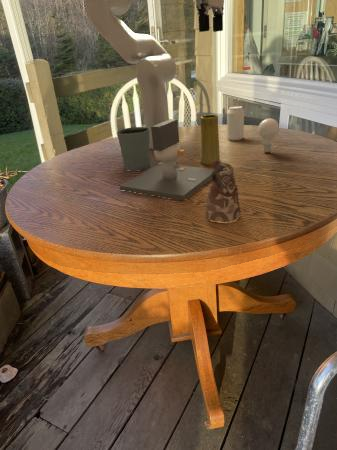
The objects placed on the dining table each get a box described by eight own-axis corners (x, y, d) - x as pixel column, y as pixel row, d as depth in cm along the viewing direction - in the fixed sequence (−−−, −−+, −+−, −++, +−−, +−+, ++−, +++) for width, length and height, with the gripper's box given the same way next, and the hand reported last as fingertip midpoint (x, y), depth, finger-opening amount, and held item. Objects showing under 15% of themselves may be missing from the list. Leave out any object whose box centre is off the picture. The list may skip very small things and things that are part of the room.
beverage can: (227, 137, 129) (227, 106, 124) (243, 136, 128) (243, 105, 123) (227, 141, 124) (227, 109, 118) (244, 140, 123) (244, 107, 117)
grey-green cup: (116, 169, 106) (110, 132, 100) (139, 160, 112) (134, 125, 107) (137, 174, 100) (131, 135, 94) (159, 164, 106) (155, 127, 100)
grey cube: (147, 161, 85) (143, 126, 81) (165, 151, 92) (162, 119, 88) (175, 163, 81) (172, 127, 77) (192, 153, 88) (190, 119, 83)
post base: (120, 190, 88) (116, 166, 85) (160, 168, 103) (157, 146, 99) (183, 201, 78) (181, 173, 75) (217, 174, 93) (217, 150, 89)
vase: (224, 160, 103) (223, 114, 97) (212, 166, 100) (211, 118, 93) (208, 158, 107) (207, 113, 100) (197, 163, 103) (194, 117, 97)
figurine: (217, 227, 65) (215, 171, 59) (200, 214, 71) (197, 161, 65) (246, 218, 67) (248, 163, 62) (228, 206, 73) (227, 155, 68)
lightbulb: (275, 149, 109) (277, 115, 104) (279, 154, 103) (281, 119, 98) (256, 150, 110) (257, 117, 105) (258, 156, 104) (260, 121, 99)
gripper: (210, -32, 99) (212, 32, 107) (183, -41, 86) (187, 33, 94) (233, -38, 95) (233, 29, 103) (208, -48, 83) (210, 29, 91)
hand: (211, 31), depth 99 cm, fingers open, 9 cm apart
